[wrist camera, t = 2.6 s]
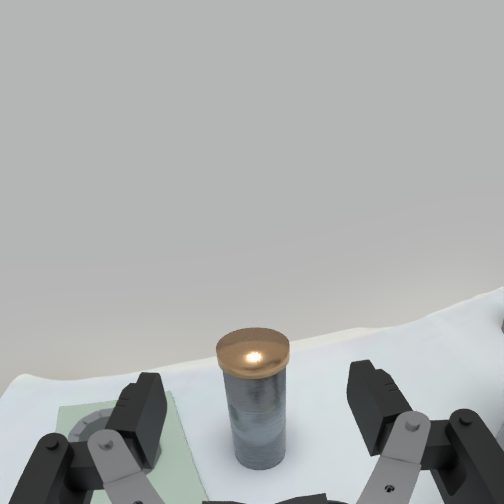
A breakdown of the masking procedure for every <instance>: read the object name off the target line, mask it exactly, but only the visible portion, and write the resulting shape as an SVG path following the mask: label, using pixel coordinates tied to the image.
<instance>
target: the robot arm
mask: <svg viewBox="0 0 504 504" xmlns="http://www.w3.org/2000/svg"><path fill="white" fill-rule="evenodd" d="M347 400H348V403H349V406H350V408H351V411H352V413H353V415H354V418H355V420H356V422H357V425H358V427H359V430H360V432H361V434H362V437H363V439H364V442H365V444H366V446H367V449H368V451H369V454H370V456H375V455H379V454H380V457H379V460H378V462H377V464H376V466H375V468H374V470H373V472H372V474H371V476H370V478H369V480H368V482H367V484H366V486H365V488H364V490H363V492H362V494H361V496H360V497H359V499H358V501H357V503H356V504H408V503H409V500H410V498H411V495H412V492H413V490H414V487H415V484H416V481H417V478H418V475H419V472H420V470H430V472H431V474H432V476H433V478H434V481H435V483H436V485H437V487H438V490H439V492H440V494H441V496H442V499H443V501H444V503H445V504H504V424H503V426H502V427H501V429H500V431H499V433H498V435H497V437H496V439H495V438H494V436H493V435H492V433H491V432H490V431H489V429H488V428H487V426H486V425H485V423H484V422H483V421H482V419H481V418H480V416H479V415H478V414H477V413H476V412H474V411H472V410H469V409H459V410H456V411H454V412H453V413H452V414H451V416H450V418H449V420H429V418H428V417H427V416H426V415H425V414H423V413H421V412H417V411H413V410H412V408H411V407H410V405H409V403H408V402H407V400H406V399H405V397H404V396H403V394H402V393H401V391H400V390H399V388H398V387H397V385H396V384H395V382H394V380H393V379H392V377H391V376H390V375H389V374H388V373H386V372H385V371H383V370H382V369H377V370H375V368H374V366H373V365H372V363H371V362H370V360H362V361H355V362H352V363H351V365H350V371H349V378H348V384H347ZM166 414H167V399H166V395H165V392H164V388H163V384H162V380H161V376H160V374H159V373H147V372H142V373H141V374H140V376H139V378H138V380H137V382H136V383H130V384H129V385H128V386H126V387H125V388H124V389H123V390H122V392H121V394H120V396H119V400H117V403H116V406H115V407H114V409H113V411H112V413H111V415H110V418H109V420H108V422H107V424H106V426H105V428H104V430H100V431H97V432H95V433H94V434H92V435H91V436H90V438H89V439H88V441H82V442H69V441H68V440H67V438H66V437H65V436H64V435H62V434H60V433H50V434H47V435H45V436H43V437H42V438H41V439H40V440H39V442H38V444H37V445H36V447H35V449H34V451H33V453H32V455H31V457H30V459H29V461H28V463H27V465H26V467H25V469H24V471H23V473H22V475H21V477H20V480H19V482H18V484H17V486H16V488H15V490H14V492H13V495H12V497H11V499H10V501H9V504H90V503H91V499H92V496H93V492H94V490H105V491H106V493H107V495H108V497H109V499H110V501H111V503H112V504H165V503H164V501H163V500H162V499H161V497H160V496H159V494H158V493H157V491H156V490H155V489H154V487H153V486H152V484H151V483H150V481H149V480H148V478H147V477H146V475H145V473H144V472H143V468H144V469H152V468H153V464H154V460H155V456H156V452H157V448H158V445H159V441H160V437H161V433H162V429H163V426H164V422H165V418H166ZM202 504H244V503H239V502H233V501H202ZM276 504H347V503H344V502H339V501H332V500H327V498H326V493H323V494H317V495H310V496H302V497H295V498H292V499H289V500H286V501H282V502H279V503H276Z"/></svg>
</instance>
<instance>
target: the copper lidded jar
mask: <svg viewBox="0 0 504 504" xmlns="http://www.w3.org/2000/svg"><path fill="white" fill-rule="evenodd" d="M216 352H217V359H218V364H219V366H220V368H221V369H222V370H223V375H224V383H225V390H226V397H227V403H228V410H229V417H230V423H231V429H232V436H233V442H234V448H235V454H236V458H237V460H238V461H239V462H240V463H241V464H242V465H243V466H245V467H247V468H250V469H254V470H265V469H269V468H272V467H274V466H276V465H277V464H279V463H280V462H281V461H282V459H283V458H284V455H285V432H286V365H287V364H288V362H289V341H288V339H287V338H286V337H285V336H284V335H283V334H281V333H279V332H278V331H275V330H272V329H267V328H246V329H240V330H236V331H233V332H231V333H229V334H227V335H225V336H224V337H222V338H221V339H220V340H219V342H218V343H217V346H216Z"/></svg>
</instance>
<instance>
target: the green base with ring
mask: <svg viewBox="0 0 504 504" xmlns="http://www.w3.org/2000/svg"><path fill="white" fill-rule="evenodd" d="M165 395H166V399H167V414H166V418H165V422H164V426H163V429H162V433H161V437H160V441H159V445H158V448H157V452H156V456H155V460H154V464H153V468H152V469H144V468H143V472H144V473H145V475H146V477H147V478H148V480H149V481H150V483H151V484H152V486H153V487H154V489H155V490H156V491H157V493H158V494H159V496H160V497H161V499H162V500H163V501H164V503H165V504H202V501H208V498H207V496H206V493H205V491H204V488H203V486H202V483H201V481H200V478H199V475H198V473H197V470H196V467H195V465H194V462H193V459H192V456H191V453H190V450H189V447H188V445H187V442H186V439H185V435H184V432H183V429H182V426H181V423H180V420H179V417H178V413H177V410H176V407H175V403H174V400H173V396H172V393H171V391H167V392H165ZM116 403H117V400H114V401H107V402H99V403H91V404H82V405H73V406H62V407H59V412H58V419H57V425H56V432H55V433H60V434H62V435H64V436H65V437H66V438H67V440H68V441H69V442H82V441H88V439H89V438H90V436H91V435H92V434H94V433H95V432H97V431H100V430H104V428H105V426H106V424H107V422H108V420H109V418H110V415H111V413H112V411H113V409H114V407H115V406H116ZM90 504H112V503H111V501H110V499H109V497H108V495H107V493H106V491H105V490H94V492H93V496H92V499H91V503H90Z"/></svg>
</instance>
